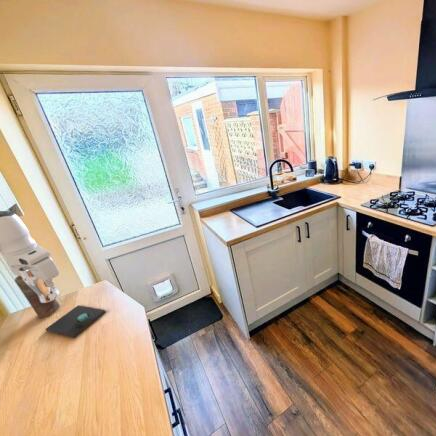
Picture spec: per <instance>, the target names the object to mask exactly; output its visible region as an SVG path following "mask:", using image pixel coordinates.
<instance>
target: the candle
mask: <svg viewBox="0 0 436 436" xmlns="http://www.w3.org/2000/svg"><path fill="white" fill-rule="evenodd" d="M14 282H15V284H16V285H17V287H18V288H19V289H20V291H21V292H22V294H23V295H24V297H25V298H26V300H27V301H28V303H29V304H30V306H31V308H32V309H33V311H34V312H35V314H36V316H37V317H38V318H42V317H47V316H49V315H50V314H52V313H54V312H56V311H57V310H58V309H59V307H60V304H59V302H58V300H57V298H56V299H54V300H52V301H50V302H47V303H41V302H40V300H39V297H38V295H37V294H36V292H35V291H33V290H32V289H31V288H30V287H29V286H28V285H27V284H26V283H25V282H24V280H23V279H22V277H21V276H16V277H15V278H14Z"/></svg>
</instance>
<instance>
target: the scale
mask: <svg viewBox="0 0 436 436" xmlns="http://www.w3.org/2000/svg"><path fill="white" fill-rule="evenodd" d="M84 313H86V314H87V315H88V318H87V319H86V320H84V321H82V322H79V320H78V317H79V316H80V315H81V314H84ZM105 314H106V311H105V309H101V308H95V307H89V306H83V305H77V306H74V308H73V309H71V310H70V311H68V312H66V313H65V314H64V315H62V316H61V317H60V318H59V319H57V320H55V321H54V322H53V323H51V324H50V325H48V327H46V328H45V329H44V330H45V331H46V332H48V333H52V334H56V335H60V336H64V337H68V338H72V339H76V338H77V337H78V336H79V335H80V334H81V333H83V332H84V331H85V330H86V329H88V328H89V327H90V326H91V325H92V324H94V323H95V322H96V321H97V320H98V319H100V318H101V317H102V316H104V315H105Z"/></svg>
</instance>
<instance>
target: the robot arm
mask: <svg viewBox="0 0 436 436" xmlns="http://www.w3.org/2000/svg"><path fill="white" fill-rule="evenodd" d="M0 255H1V256H2V257H3V259H4V260H5V262H6V264H7V266H8V268H9V269H10V271H11V273H12V274H13V275H15V276H16V277H18V276H21V275H20V273H19V271H18V269H19V268H20V267H21V270H22V271H24V270H28V269H32V270H31V271H32V273H33V274H34V276H35V277H36V278H37V279H43V281H45V286H46V287H52V286H53V285H55V283H54V281H53V282H52V279H55V278H56V277H58V276H59V275H60V270H59V268H58V266H57V264H56V263H55V261H54V259H53V258H52V257H50V256H51V255H52V253H51V252H50V250H48V249H45V248H44V247H43V246H40V245H39V244H37V242H36V240H35V239H34V238H32V236H31V235H30V231H29V229H28V227H27V225H26V224H25V222H23V220H22V219H21V218H20V217H19V215H17V214H16V213H14V212H12V211H8V210H0Z"/></svg>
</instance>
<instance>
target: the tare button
mask: <svg viewBox="0 0 436 436" xmlns="http://www.w3.org/2000/svg"><path fill="white" fill-rule="evenodd" d="M87 318H88V315H87V314H86V313H84V314H81V315H80V316H79V317H78V320H79V322H82V321H84V320H86V319H87Z"/></svg>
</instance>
